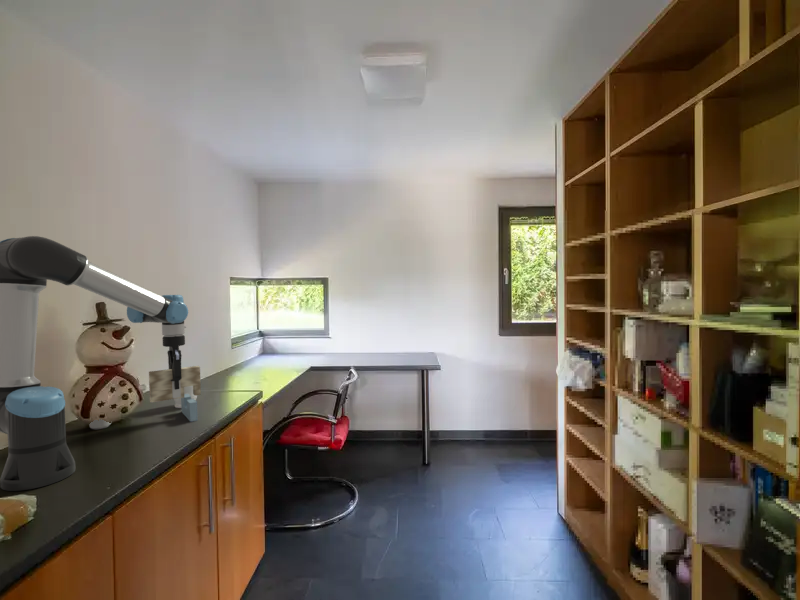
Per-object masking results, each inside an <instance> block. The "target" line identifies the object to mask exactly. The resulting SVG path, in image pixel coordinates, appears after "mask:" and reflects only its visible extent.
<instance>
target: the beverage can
mask: <svg viewBox="0 0 800 600" xmlns="http://www.w3.org/2000/svg"><path fill="white" fill-rule="evenodd" d="M111 424H112V422H111V423H109V422H106V421H104V420H102V419H101V420H100V419H99V421H98V420H94V421H93V422H91V423H90V424H89V423H88V425H89V428H90V429H91V430H102V429H106V428H108V427H110V425H111Z"/></svg>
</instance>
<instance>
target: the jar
mask: <svg viewBox="0 0 800 600" xmlns="http://www.w3.org/2000/svg"><path fill="white" fill-rule="evenodd" d="M184 394H189V395H190V396H191V399H194V400H195V401H197V398H198V395H196V396H195V395H194V394H193V386H188V387H184ZM173 401H174V403H175V404H174V407H175V408H177V409H181V398H177V399H173Z"/></svg>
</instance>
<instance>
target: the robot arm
mask: <svg viewBox="0 0 800 600" xmlns="http://www.w3.org/2000/svg"><path fill="white" fill-rule="evenodd" d="M48 281H53V282H56V283H59V284H62V285H65V286H68V287H69V286H71V285H75V286H77V287H79V288H81V289H84V290H87V291H89V292H92V293H94V294H96V295H98V296H101V297H103V298H106V299H108V300H110V301H113V302H116V303H118V304H121V305H123V306H126V307H127V308H126V316H127V319H128V320H129V321H130V323H133V324H139V323H140V324H142V323H159V324H161V334H162V336H163V337H162V346H163V347H165V348H166V347H167V348H168V349H169V350H167V353H166V354H167V357H168V358H167V363H168V369H172V376H173V379H172V380H171V381H172V396H173V398H178V397H181V386H180V379H181V378H182V377H181V368H182V356H183V355H182V350H180V347H181V346H184V345H186V336H185V329H186V328H187V325H185V320H186V319H187V317H188V315H189V309H188V306H187V305H186V303H185V302H184V297H183V295H182V294H163V295H160V294H158V293H156V292H154V291H152V290H149V289H148V288H145V287H144V286H141V285H139V284H137V283H135V282H133V281H131V280H128V279H127V278H125V277H122V276H120V275H118V274H116V273H114V272H111V271H109V270H107V269H105V268H103V267H101V266H99V265H98V264H95V263H93V262H92V261H91V262H90V261H89V258H88V256H86V255H85V254H83V253H80V252H78V251H76V250H74V249H72V248H70V247H67V246H66V245H64V244H62V243H59V242H57V241H55V240H52V239H49V238H47V237H43V236H38V235H29V236H24V237H11V238H5V239H2V240H0V433H2V434H5V435H7V450H8V456H7V458H6V460H5V464H4V467H3V470H2V473H1V476H0V489H1V490H3V491H7V492H8V491H9V492H19V491H27V490H28V491H29V490H32V489H38V488H42V487H46V486H49V485H53V484H56V483H58V482H60V481H63V480H65V479H66V478H68V477H70V476H71V475H73V474H75V471H76V460H75V458H74V456H73V454H72V453H71V450H70V448H69V445H68V444H67V432H66V430H67V428H66V400H65V396H64V394H65V393H64V391H62V389H60V388H59V387H54V386H49V385H48V386H43V385H42V386H41V381H42V380H40V379H39V378H37V377H36V376H35V366H36V353H37V351H36V350H37V349H36V348H37V335H38V333H37V332H38V318H39V301H40V293H41V292H42V291H43V290H44V289H46V288H47V282H48Z"/></svg>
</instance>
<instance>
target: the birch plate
mask: <svg viewBox="0 0 800 600" xmlns="http://www.w3.org/2000/svg"><path fill="white" fill-rule="evenodd" d="M181 377H182V378H181V379H180V386H181V397H178V398H184V387H188V386H193V394H194V395H195V396H196V395H197V396H200V395H201V396H202V394H201V393H202V391H201V390H202V389H201V388H202V386H201V383H202V382H201V367H200V366H199V365H193V366H185V367H181ZM172 379H173V376H172V369H169V368H168V369H160V370H151V371H148V385H149V386H148V387H149V388H148V389H149V402H150V403H156V402H157V403H158V402H164V401H169V400H174V399H177V398H173V396H172V381H171V380H172Z"/></svg>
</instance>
